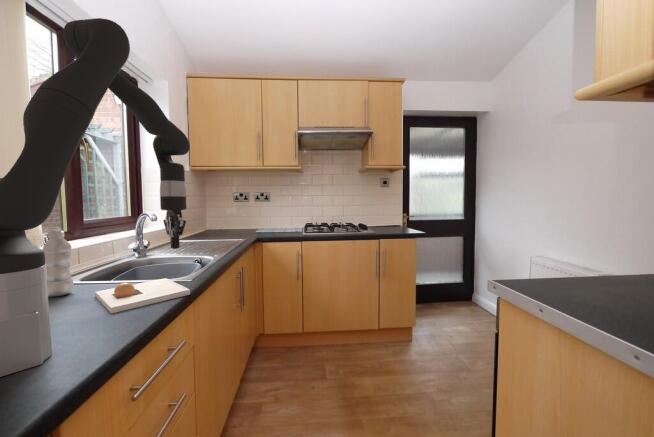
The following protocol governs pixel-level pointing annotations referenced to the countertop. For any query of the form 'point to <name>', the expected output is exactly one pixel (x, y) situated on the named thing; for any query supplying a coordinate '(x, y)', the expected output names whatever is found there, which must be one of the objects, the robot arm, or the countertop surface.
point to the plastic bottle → (58, 264)
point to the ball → (124, 290)
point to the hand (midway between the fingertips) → (175, 248)
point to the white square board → (142, 295)
